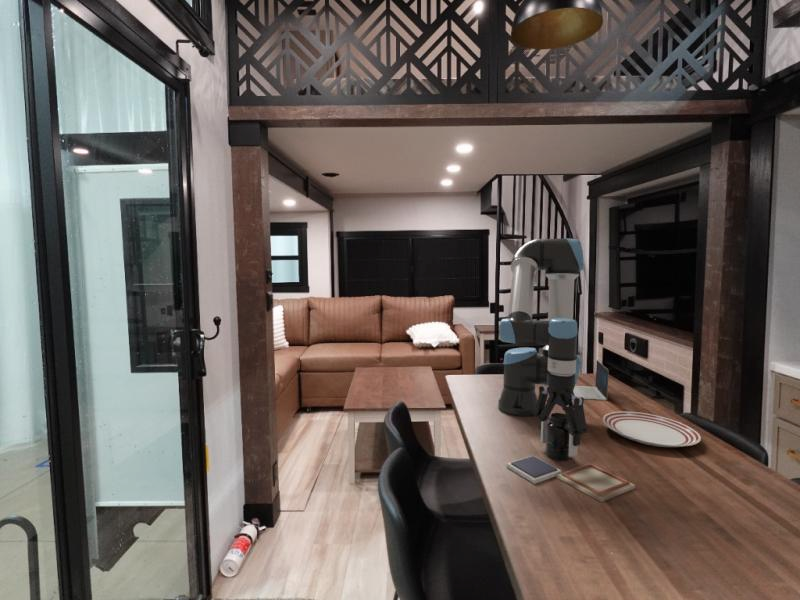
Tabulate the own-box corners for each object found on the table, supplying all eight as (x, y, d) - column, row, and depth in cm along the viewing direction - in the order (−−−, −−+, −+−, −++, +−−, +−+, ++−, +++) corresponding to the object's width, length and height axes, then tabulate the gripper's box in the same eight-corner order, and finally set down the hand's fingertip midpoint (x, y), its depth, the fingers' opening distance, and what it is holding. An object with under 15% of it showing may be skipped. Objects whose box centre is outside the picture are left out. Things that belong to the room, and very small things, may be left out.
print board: (556, 477, 110) (556, 472, 110) (589, 465, 116) (589, 461, 116) (601, 502, 99) (601, 496, 98) (635, 488, 105) (635, 482, 105)
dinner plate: (684, 425, 146) (685, 416, 145) (714, 460, 120) (715, 449, 120) (597, 415, 155) (598, 407, 154) (608, 446, 129) (608, 436, 129)
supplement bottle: (572, 462, 118) (574, 420, 117) (547, 459, 120) (548, 418, 119) (568, 451, 125) (569, 412, 124) (544, 449, 126) (545, 410, 125)
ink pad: (506, 467, 115) (506, 462, 115) (532, 458, 120) (533, 454, 120) (534, 483, 107) (534, 478, 107) (561, 474, 112) (561, 469, 111)
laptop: (566, 386, 191) (567, 358, 190) (596, 388, 188) (597, 359, 187) (574, 399, 173) (576, 368, 172) (607, 401, 171) (609, 370, 170)
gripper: (523, 366, 128) (520, 437, 130) (586, 384, 109) (582, 467, 111) (540, 363, 132) (538, 432, 134) (604, 380, 112) (600, 461, 114)
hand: (558, 448), depth 122 cm, fingers open, 9 cm apart
